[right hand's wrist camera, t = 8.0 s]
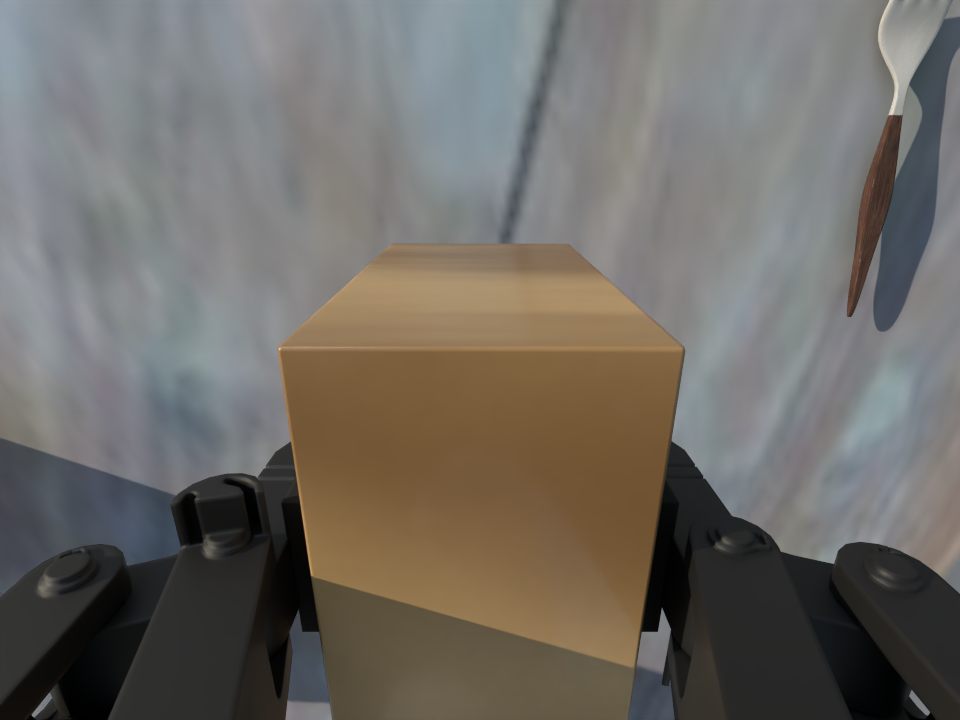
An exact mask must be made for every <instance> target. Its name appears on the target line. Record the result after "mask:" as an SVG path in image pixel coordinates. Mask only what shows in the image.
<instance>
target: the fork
mask: <svg viewBox="0 0 960 720" xmlns="http://www.w3.org/2000/svg"><path fill="white" fill-rule="evenodd" d="M952 1H953V0H890V1H889V3H888V5H887V7H886V9H885V11H884V14H883V16H882V19H881V22H880V25H879V31H878V41H879V47H880V50H881V53H882V56H883V58H884V60H885V62H886V64H887V66H888V68H889V71H890V73H891V75H892V78H893V81H894V85H895V93H894V99H893V102H892V106H891V109H890V112H889V115H888V118H887V121H886V124H885V127H884V130H883V133H882V136H881V139H880V142H879V144H878V147H877V150H876V153H875V156H874V159H873V162H872V165H871V168H870V171H869V174H868V177H867V180H866V184H865V187H864V191H863V195H862V199H861V205H860V211H859V219H858V228H857V237H856V246H855V255H854V262H853V268H852V275H851V281H850V288H849V296H848V305H847V317H851V316H852V315H853V313H854V310H855V308H856V305H857V303H858V300H859V297H860V294H861V291H862V288H863V285H864V282H865V279H866V276H867V273H868V270H869V266H870V263H871V260H872V257H873V254H874V251H875V248H876V245H877V242H878V239H879V237H880V234H881V231H882V228H883V225H884V222H885V219H886V216H887V212H888V209H889V206H890V202H891V197H892V193H893V187H894V181H895V174H896V166H897V158H898V149H899V141H900V132H901V124H902V116H903V109H904V102H905V97H906V93H907V89H908V86H909V83H910V81H911V79H912V77H913V75H914V73H915V71H916V70H917V68H918V66H919V65H920V63H921V61H922V60H923V58H924V56H925V55H926V53H927V52H928V50H929V48H930V47H931V45H932V43H933V41H934V39H935V38H936V36H937V34H938V32H939V30H940V28H941V26H942V23H943V21H944V19H945V17H946V14H947V12H948V10H949V8H950V5H951V3H952Z"/></svg>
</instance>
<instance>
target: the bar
mask: <svg viewBox="0 0 960 720" xmlns="http://www.w3.org/2000/svg"><path fill="white" fill-rule="evenodd" d="M278 356H279V362H280V369H281V376H282V383H283V389H284V396H285V403H286V410H287V416H288V423H289V430H290V437H291V444H292V450H293V457H294V464H295V471H296V477H297V484H298V491H299V498H300V504H301V511H302V518H303V525H304V531H305V538H306V545H307V552H308V558H309V565H310V572H311V579H312V586H313V592H314V599H315V606H316V613H317V619H318V626H319V633H320V640H321V646H322V653H323V660H324V667H325V673H326V680H327V687H328V694H329V700H330V707H331V714H332V720H628V716H629V709H630V703H631V697H632V690H633V684H634V677H635V671H636V664H637V658H638V652H639V645H640V639H641V632H642V626H643V619H644V613H645V607H646V600H647V594H648V587H649V581H650V574H651V568H652V562H653V555H654V549H655V542H656V536H657V529H658V523H659V516H660V510H661V504H662V497H663V491H664V484H665V478H666V471H667V465H668V459H669V452H670V446H671V439H672V433H673V426H674V420H675V414H676V407H677V401H678V394H679V388H680V381H681V375H682V369H683V362H684V356H685V348H684V346H682V345H681V344H680V343H679V342H678V341H677V340H676V339H675V338H673V337H672V336H671V335H670V334H669V333H668V332H667V331H666V330H664V329H663V328H662V327H661V326H660V325H659V324H658V323H657V322H655V321H654V320H653V319H652V318H651V317H650V316H649V315H648V314H646V313H645V312H644V311H643V310H642V309H641V308H640V307H639V306H637V305H636V304H635V303H634V302H633V301H632V300H631V299H630V298H628V297H627V296H626V295H625V294H624V293H623V292H622V291H621V290H619V289H618V288H617V287H616V286H615V285H614V284H613V283H612V282H610V281H609V280H608V279H607V278H606V277H605V276H604V275H603V274H601V273H600V272H599V271H598V270H597V269H596V268H595V267H594V266H592V265H591V264H590V263H589V262H588V261H587V260H586V259H585V258H583V257H582V256H581V255H580V254H579V253H578V252H577V251H576V250H574V249H573V248H572V247H571V246H570V245H569V244H391V245H390V246H389V247H388V248H387V249H386V250H385V251H383V252H382V253H381V254H380V255H379V256H378V257H377V258H376V259H375V260H373V261H372V262H371V263H370V264H369V265H368V266H367V267H366V268H365V269H364V270H362V271H361V272H360V273H359V274H358V275H357V276H356V277H355V278H354V279H353V280H351V281H350V282H349V283H348V284H347V285H346V286H345V287H344V288H343V289H341V290H340V291H339V292H338V293H337V294H336V295H335V296H334V297H333V298H332V299H330V300H329V301H328V302H327V303H326V304H325V305H324V306H323V307H322V308H320V309H319V310H318V311H317V312H316V313H315V314H314V315H313V316H312V317H311V318H309V319H308V320H307V321H306V322H305V323H304V324H303V325H302V326H301V327H299V328H298V329H297V330H296V331H295V332H294V333H293V334H292V335H291V336H290V337H288V338H287V339H286V340H285V341H284V342H283V343H282V344H281V345H280V346H279V347H278Z"/></svg>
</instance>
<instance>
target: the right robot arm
mask: <svg viewBox="0 0 960 720" xmlns="http://www.w3.org/2000/svg"><path fill="white" fill-rule="evenodd" d="M170 506H171V510H172V513H173V517H174V521H175V525H176V529H177V533H178V536H179V540H180V544H181V550H180V552H179V554H178V555H174V556H170V557H167V558H163V559H158V560H153V561H149V562H144V563H139V564H135V565H130V566H127V565H126V562H125V558H124V555H123V553H122V552H121V551H120V550H119V549H118V548H116V547H115V546H110V545H104V544H98V545H90V546H82V547H79V548H75V549H73V550H69V551H66V552H63V553H61V554H59V555H57V556H55V557H53V558H51V559H49V560H47V561H45V562H43V563H41V564H40V565H38V566H37V567H36V568H34V569H33V570H32V571H30V572H29V573H27V574H26V575H25V576H24V577H23V578H21V579H20V580H19V581H18V582H17V583H16V584H15V585H14V586H13V587H11V588H10V589H9V590H8V591H7V592H6V593H5V594H4V595H3V596H2V597H0V720H285V718H286V709H287V699H288V690H289V681H290V672H291V662H292V653H293V652H292V645H291V639H290V633H289V631H290V629H291V626H292V624H293V621H294V619H295V616H296V614H297V612H298V609H299V613H300V619H301V625H302V631H303V632H319V626H318V619H317V613H316V606H315V599H314V592H313V586H312V579H311V572H310V565H309V558H308V552H307V545H306V538H305V531H304V525H303V518H302V511H301V504H300V498H299V491H298V484H297V477H296V471H295V464H294V457H293V450H292V444H291V442H290V443H288V444H287V445H285V446H284V447H282V448H281V449H279V450H278V451H276V452H275V454H274V455H273V457H272V458H271V459H270V461H269V462H268V464H267V465H266V469H263V471H262V472H261V473H260V475H259V476H258V478H256V477H255V476H251V475H247V474H243V473H237V474H223V475H219V476H214V477H209V478H207V479H204V480H202V481H200V482H197V483H195V484H192V485H191V486H189V487H188V488H186V489H185V490H183V491H182V492H180V493H179V494H178V495H177V496H176V497H175V498H174V500H173V501H172V502H171V503H170ZM662 608H663V611H664V613H665V616H666V618H667V620H668V623H669V625H670V628H671V633H670V639H669V644H668V650H667V656H666V661H665V667H664V672H663V679H662V685H666V686H669V681H670V680H671V689H672V698H673V707H674V716H675V720H960V594H959V593H958V592H957V591H956V590H955V589H954V588H953V587H951V586H950V585H949V584H948V583H947V582H946V581H945V580H944V579H943V578H941V577H940V576H939V575H938V574H937V573H936V572H934V571H933V570H932V569H930V568H929V567H927V566H926V565H925V564H923V563H922V562H920V561H919V560H917V559H915V558H913V557H911V556H909V555H907V554H905V553H903V552H901V551H899V550H896V549H893V548H891V547H890V548H889V547H887V546H883V545H879V544H873V543H865V542H856V543H850V544H846V545H844V546H843V547H842V548H841V549H840V550H838V553H837V557H836V560H835V563H834V564H831V563H826V562H822V561H817V560H813V559H808V558H803V557H799V556H794V555H791V554H787V553H784V552H781V551H780V549H779V547H778V545H777V544H776V543H775V541H774V540H773V539H772V537H771V536H770V535H769V534H767V533H766V532H765V531H763V530H762V529H761V528H760V527H758V526H756V525H754V524H752V523H750V522H748V521H746V520H744V519H741V518H737V517H733V516H731V514H730V513H729V511H728V510H727V509H726V507H725V506H724V504H723V503H722V502H721V500H720V499H719V497H718V496H717V495H716V493H715V492H714V490H713V489H712V488H711V486H710V485H709V483H708V482H707V481H706V479H703V475H702V474H701V472H700V471H699V469H698V468H697V467H695V464H694V462H693V461H692V460H691V458H690V457H689V455H688V454H687V453H686V451H685V450H684V449H682V448H681V447H679V446H678V445H676V444H675V443H673V442H672V441H671V446H670V452H669V459H668V465H667V471H666V478H665V484H664V491H663V497H662V504H661V510H660V516H659V523H658V529H657V536H656V542H655V549H654V555H653V562H652V568H651V574H650V581H649V587H648V594H647V600H646V607H645V613H644V619H643V626H642V632H658V627H659V621H660V615H661V609H662ZM911 690H913V692H914V693H915V694H916V695H917V697H918V698H919V699H920V700H921V701H922V703H923V704H924V705H925V706H926V707H927V709H928V710H929V711H930V714H929V715H928V716H927V715H925V714H924V713H923V712H922V711H921V710H920V709H919V708H918V707H917V706H916V705H915V703H914V702H913V701H912V700H911V698H910V697H909V695H910V692H911ZM49 692H50V694H51V696H52V699H51V701H50V702H49V703H48V704H47V706H46V707H45V708H44V709H43V710H42V711H41V712H40V713H39V714H38V715H37V716H36V717H32V715H31V714H32V713H33V712H34V711H35V709H36V708H37V707H38V706H39V705H40V703H41V702H42V701H43V700H44V698H45V697H46V696H47V695H48V693H49Z"/></svg>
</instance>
